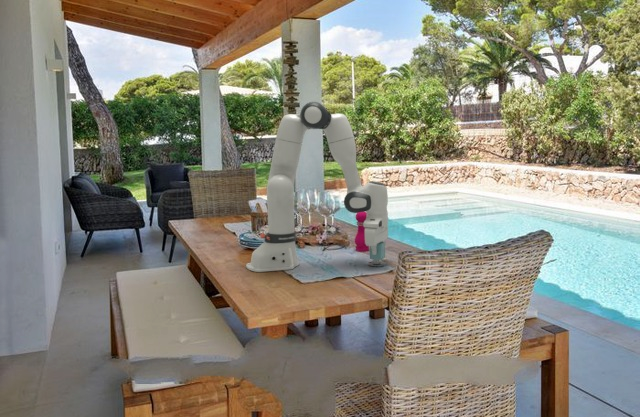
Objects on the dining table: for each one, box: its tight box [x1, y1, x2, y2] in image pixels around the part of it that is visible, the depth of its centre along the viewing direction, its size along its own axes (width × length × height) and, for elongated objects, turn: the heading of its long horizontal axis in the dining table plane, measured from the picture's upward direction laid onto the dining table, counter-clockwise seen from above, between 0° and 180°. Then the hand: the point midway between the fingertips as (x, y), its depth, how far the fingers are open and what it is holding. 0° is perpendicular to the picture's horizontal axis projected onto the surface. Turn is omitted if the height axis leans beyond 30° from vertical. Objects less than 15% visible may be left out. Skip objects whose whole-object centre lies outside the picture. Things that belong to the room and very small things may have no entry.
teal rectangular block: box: [369, 241, 386, 261], centre depth 248 cm, size 5×5×7 cm
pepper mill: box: [354, 211, 369, 253], centre depth 277 cm, size 7×7×20 cm
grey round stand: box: [367, 259, 388, 268], centre depth 249 cm, size 8×8×6 cm
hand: (377, 252), depth 249 cm, fingers closed on teal rectangular block, 5 cm apart
